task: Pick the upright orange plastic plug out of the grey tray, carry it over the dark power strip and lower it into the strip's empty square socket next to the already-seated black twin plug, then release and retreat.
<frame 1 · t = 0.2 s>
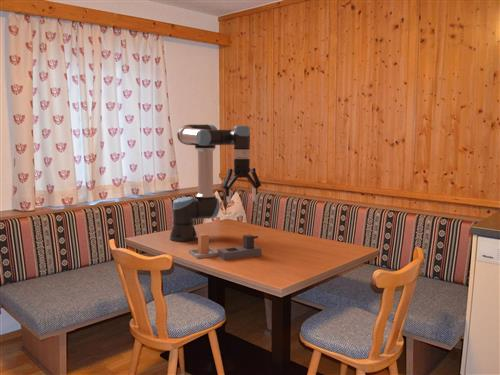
hand: (241, 202, 224), 27 cm above the table, fingers open, 13 cm apart
plug: (203, 254, 229), resting on tray
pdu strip: (239, 256, 228), on the table
tray: (203, 255, 230), on the table
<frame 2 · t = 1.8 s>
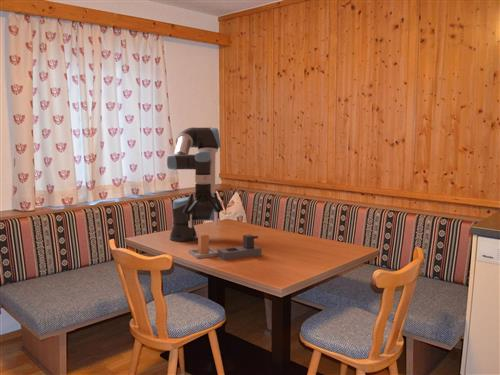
hand: (203, 226, 227), 15 cm above the table, fingers open, 13 cm apart
nothing on the table moved.
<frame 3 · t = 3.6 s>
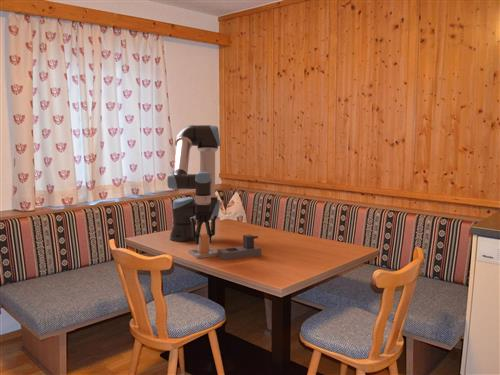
hand: (203, 250, 229), 3 cm above the table, fingers closed on plug, 4 cm apart
plug: (203, 254, 229), point 1 cm above the table, touching gripper, tray
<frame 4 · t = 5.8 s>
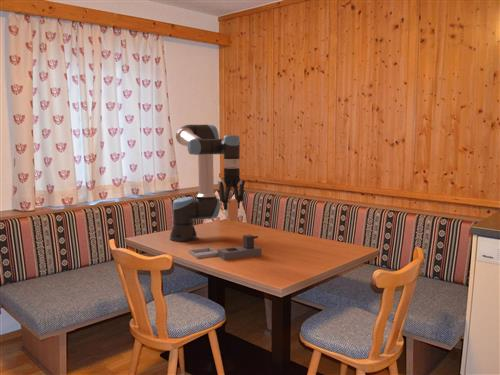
hand: (231, 215, 223), 21 cm above the table, fingers closed on plug, 4 cm apart
plug: (231, 220, 223), point 19 cm above the table, touching gripper
when the fingers open (5 cm above the table, at t = 8.0 s): plug drops 3 cm, resting in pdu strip.
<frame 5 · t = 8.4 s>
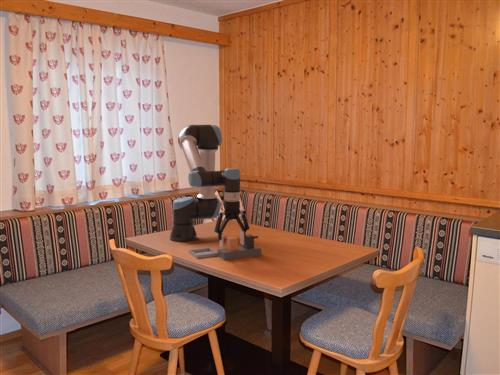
hand: (231, 245, 225), 6 cm above the table, fingers open, 10 cm apart
plug: (232, 257, 226), resting in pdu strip
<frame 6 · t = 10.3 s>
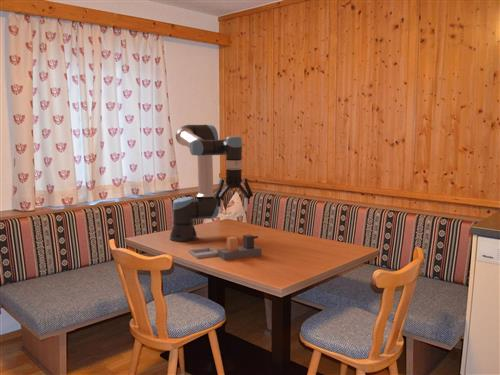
hand: (233, 212, 225), 22 cm above the table, fingers open, 13 cm apart
nothing on the table moved.
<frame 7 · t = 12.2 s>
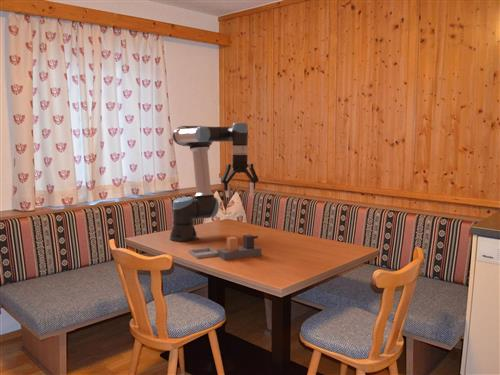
hand: (239, 196, 233), 29 cm above the table, fingers open, 13 cm apart
nothing on the table moved.
at the end: plug 0.0 cm from the target spot on the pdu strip, point 0.0 cm above the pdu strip's base; plug tilted 0°; the gripper is holding nothing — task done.
